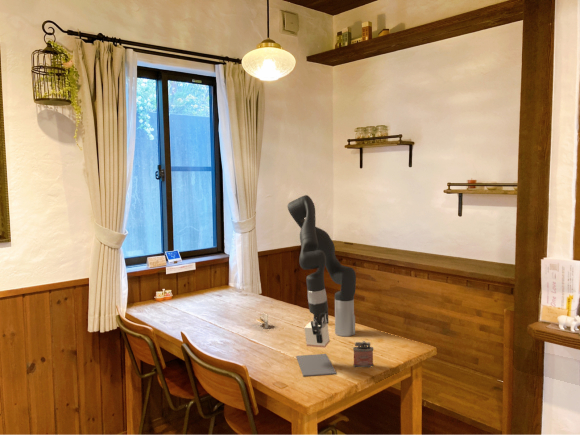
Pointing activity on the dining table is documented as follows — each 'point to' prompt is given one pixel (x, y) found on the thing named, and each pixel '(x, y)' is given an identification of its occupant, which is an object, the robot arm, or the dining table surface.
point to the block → (312, 339)
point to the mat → (315, 365)
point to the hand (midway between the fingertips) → (322, 339)
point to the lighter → (363, 354)
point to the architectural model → (264, 320)
